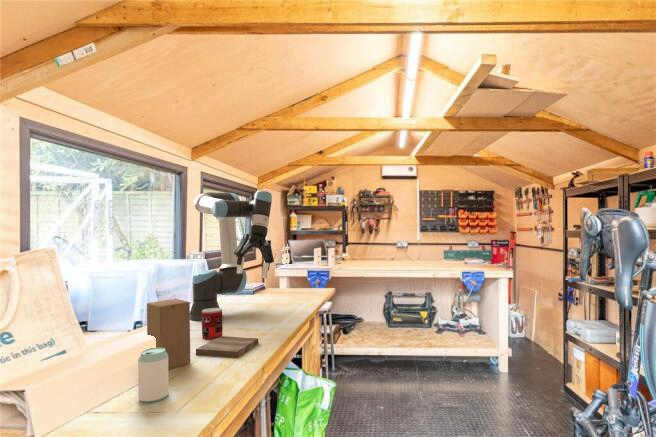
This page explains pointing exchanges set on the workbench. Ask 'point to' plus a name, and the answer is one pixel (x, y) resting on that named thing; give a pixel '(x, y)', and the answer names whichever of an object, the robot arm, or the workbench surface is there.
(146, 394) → the can
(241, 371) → the workbench surface
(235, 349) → the walnut board
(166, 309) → the wooden block
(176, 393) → the workbench surface
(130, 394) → the workbench surface
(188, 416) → the workbench surface
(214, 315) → the canned food
